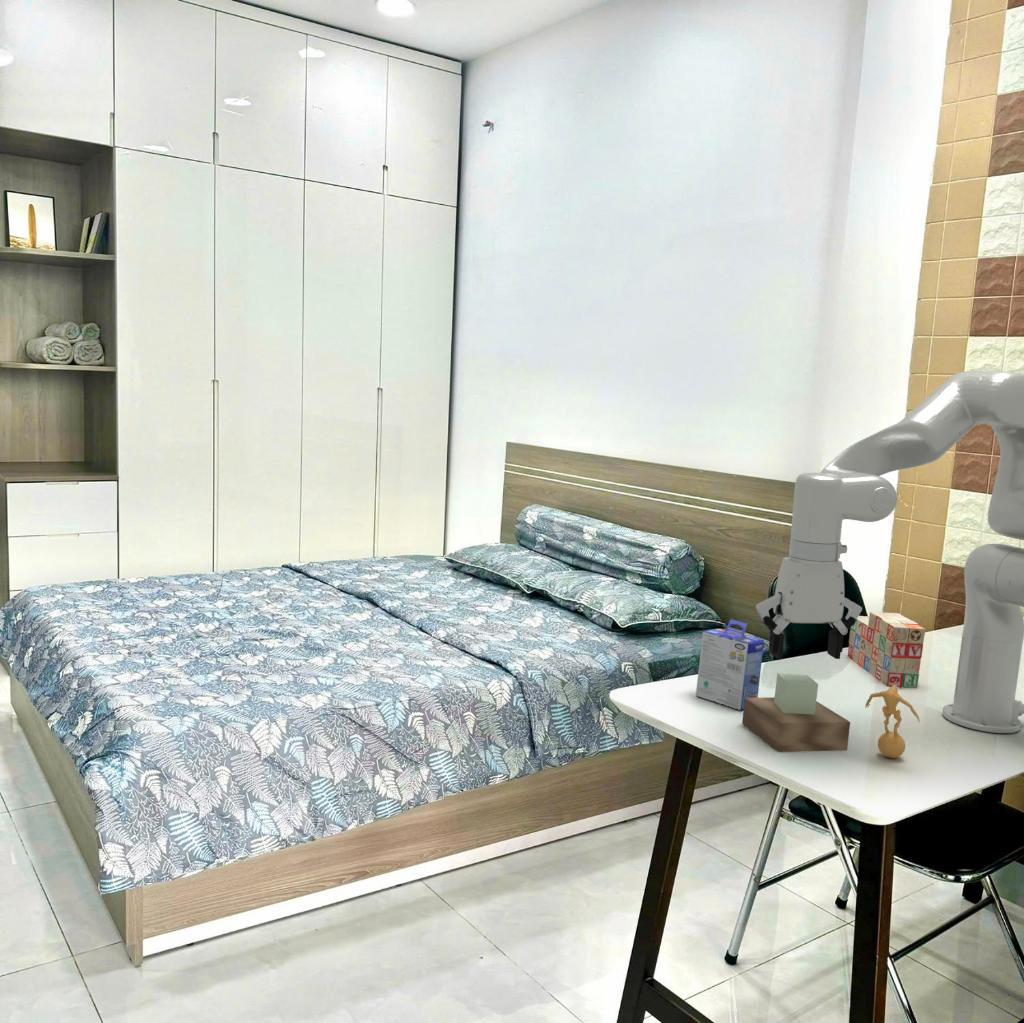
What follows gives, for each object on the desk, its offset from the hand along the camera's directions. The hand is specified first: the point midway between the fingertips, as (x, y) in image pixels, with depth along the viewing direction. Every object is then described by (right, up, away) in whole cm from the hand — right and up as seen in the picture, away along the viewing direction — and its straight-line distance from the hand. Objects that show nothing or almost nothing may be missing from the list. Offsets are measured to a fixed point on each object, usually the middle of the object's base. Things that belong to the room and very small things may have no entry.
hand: (804, 656), depth 156 cm
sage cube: (-1, -9, +1) cm, 9 cm away
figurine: (+11, -15, -6) cm, 20 cm away
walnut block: (-2, -14, +1) cm, 14 cm away
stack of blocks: (+29, -10, +44) cm, 54 cm away
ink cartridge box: (-9, -11, +17) cm, 22 cm away
